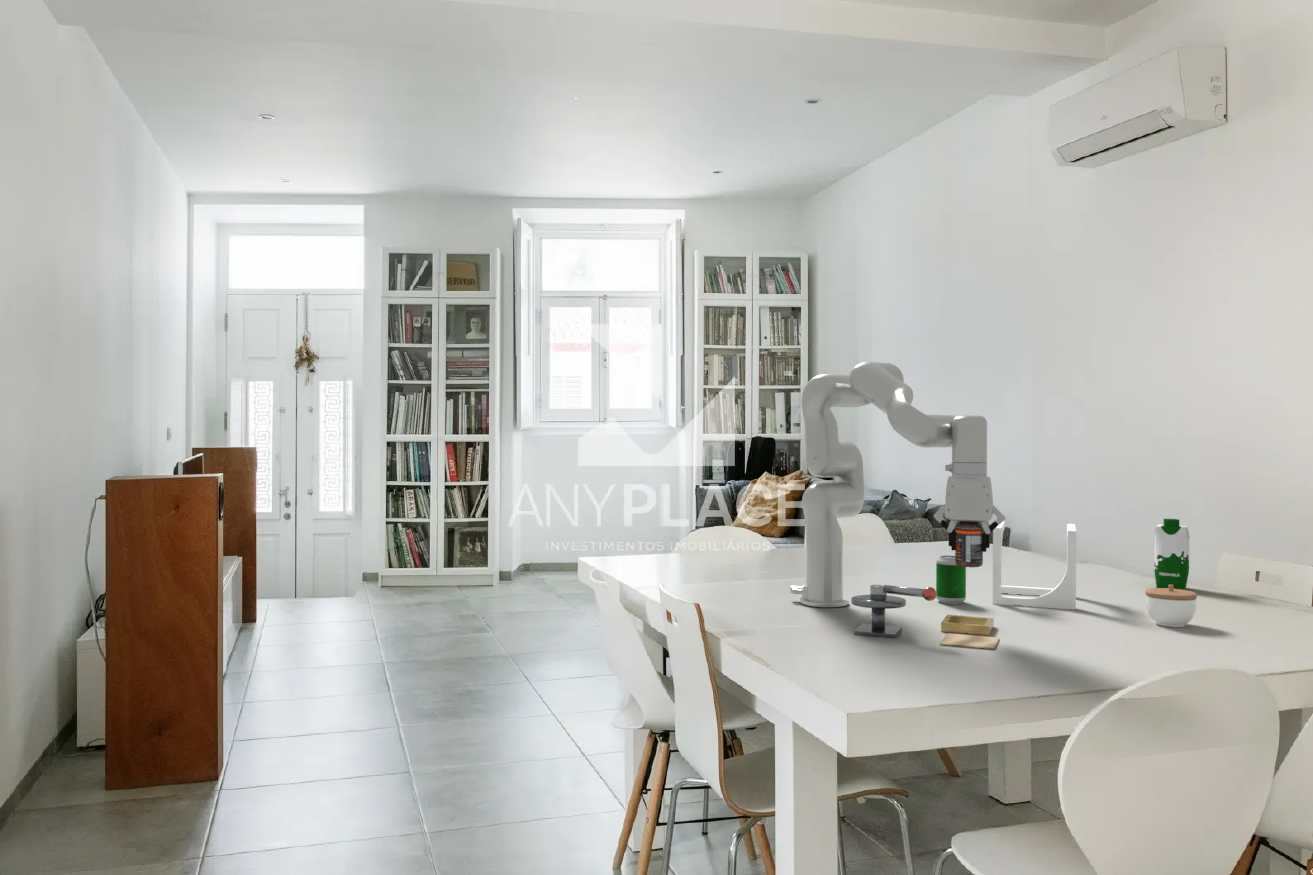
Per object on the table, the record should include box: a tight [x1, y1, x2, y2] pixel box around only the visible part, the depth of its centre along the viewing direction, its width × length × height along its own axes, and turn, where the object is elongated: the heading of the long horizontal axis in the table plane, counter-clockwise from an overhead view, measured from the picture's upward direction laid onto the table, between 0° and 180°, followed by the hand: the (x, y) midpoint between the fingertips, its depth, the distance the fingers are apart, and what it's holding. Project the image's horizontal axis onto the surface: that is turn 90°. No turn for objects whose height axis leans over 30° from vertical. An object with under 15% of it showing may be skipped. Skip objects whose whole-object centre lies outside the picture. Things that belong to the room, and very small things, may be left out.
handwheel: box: [850, 584, 937, 610], centre depth 219 cm, size 20×12×5 cm, turn 52°
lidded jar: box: [1145, 585, 1198, 628], centre depth 231 cm, size 11×11×9 cm
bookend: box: [992, 520, 1077, 610], centre depth 263 cm, size 20×20×20 cm
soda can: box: [935, 555, 967, 605], centre depth 260 cm, size 8×8×12 cm
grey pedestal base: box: [853, 608, 903, 639], centre depth 222 cm, size 9×9×6 cm
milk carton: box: [1153, 518, 1190, 590], centre depth 282 cm, size 9×9×20 cm
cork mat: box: [939, 632, 1000, 651], centre depth 212 cm, size 11×11×1 cm
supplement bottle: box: [954, 521, 984, 568], centre depth 221 cm, size 6×6×11 cm
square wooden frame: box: [940, 614, 995, 636], centre depth 226 cm, size 10×10×2 cm
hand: (969, 549), depth 221 cm, fingers closed on supplement bottle, 6 cm apart
